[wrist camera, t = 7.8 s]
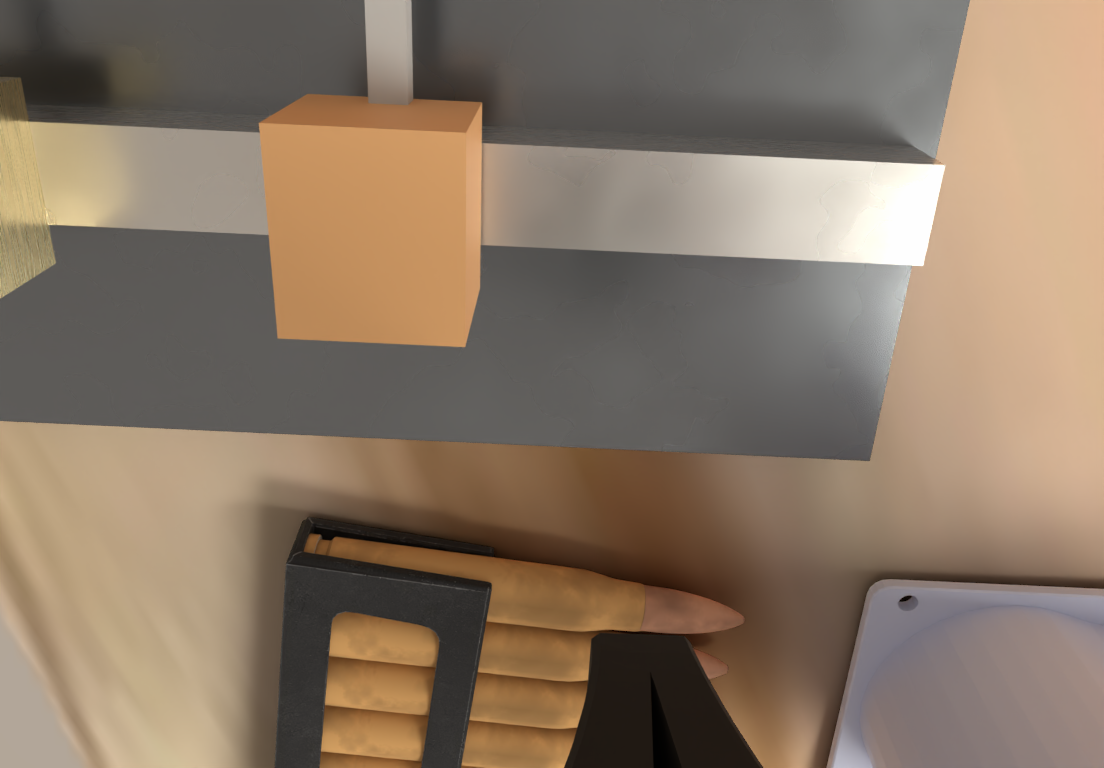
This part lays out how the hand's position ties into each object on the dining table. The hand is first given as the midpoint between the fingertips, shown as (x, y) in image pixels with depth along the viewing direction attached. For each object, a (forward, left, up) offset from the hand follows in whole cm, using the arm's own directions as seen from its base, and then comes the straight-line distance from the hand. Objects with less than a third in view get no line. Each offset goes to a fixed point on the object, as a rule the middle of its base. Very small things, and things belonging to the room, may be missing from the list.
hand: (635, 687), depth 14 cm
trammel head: (+4, -7, -8) cm, 12 cm away
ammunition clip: (+9, +9, -9) cm, 16 cm away
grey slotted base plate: (+5, -5, -10) cm, 13 cm away
